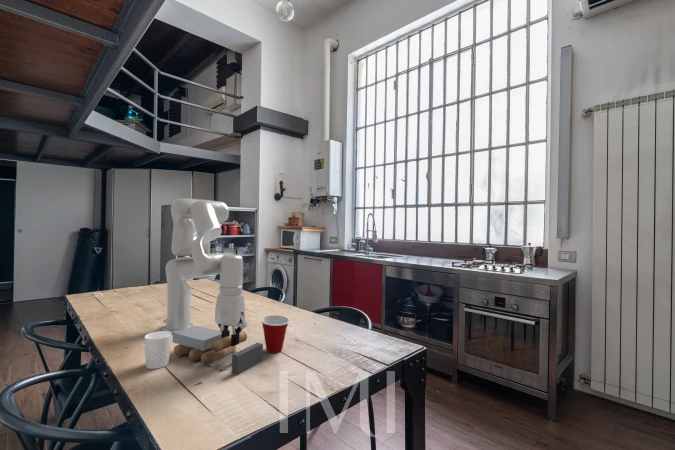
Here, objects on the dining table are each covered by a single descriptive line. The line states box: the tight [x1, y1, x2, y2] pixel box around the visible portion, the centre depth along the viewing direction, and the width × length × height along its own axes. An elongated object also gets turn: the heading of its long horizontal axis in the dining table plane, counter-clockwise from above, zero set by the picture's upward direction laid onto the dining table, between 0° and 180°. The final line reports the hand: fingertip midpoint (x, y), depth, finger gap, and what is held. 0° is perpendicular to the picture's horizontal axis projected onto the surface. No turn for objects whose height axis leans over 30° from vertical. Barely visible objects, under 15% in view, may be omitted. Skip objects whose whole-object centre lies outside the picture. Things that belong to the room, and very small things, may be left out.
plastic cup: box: [260, 314, 291, 354], centre depth 122 cm, size 11×11×12 cm
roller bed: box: [173, 344, 237, 366], centre depth 116 cm, size 18×12×4 cm, turn 63°
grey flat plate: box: [208, 350, 238, 371], centre depth 111 cm, size 6×12×1 cm, turn 153°
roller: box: [212, 330, 248, 352], centre depth 111 cm, size 4×12×4 cm
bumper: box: [231, 342, 264, 376], centre depth 107 cm, size 2×12×6 cm, turn 153°
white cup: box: [144, 330, 172, 370], centre depth 107 cm, size 8×8×10 cm
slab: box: [172, 325, 222, 351], centre depth 118 cm, size 16×10×4 cm, turn 63°
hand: (230, 343), depth 111 cm, fingers closed on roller, 3 cm apart
